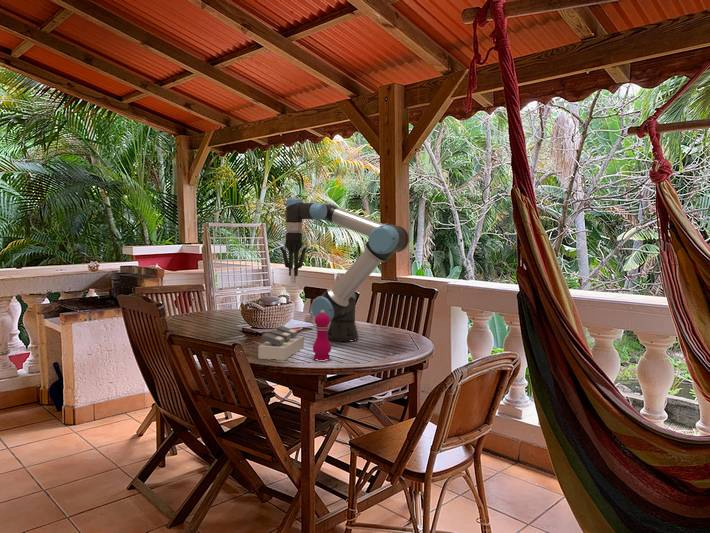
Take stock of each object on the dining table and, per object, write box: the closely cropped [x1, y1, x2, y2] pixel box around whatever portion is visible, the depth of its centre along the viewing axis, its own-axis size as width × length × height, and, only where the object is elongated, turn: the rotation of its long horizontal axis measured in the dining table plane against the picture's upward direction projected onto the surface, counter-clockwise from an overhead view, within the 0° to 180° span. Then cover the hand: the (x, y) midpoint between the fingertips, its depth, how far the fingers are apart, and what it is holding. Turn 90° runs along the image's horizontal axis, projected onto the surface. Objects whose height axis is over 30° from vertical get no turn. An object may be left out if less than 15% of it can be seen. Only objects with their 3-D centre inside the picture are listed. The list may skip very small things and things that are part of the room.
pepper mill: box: [312, 310, 332, 360], centre depth 216 cm, size 7×7×20 cm
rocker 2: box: [268, 329, 291, 341], centre depth 226 cm, size 8×5×2 cm, turn 77°
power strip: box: [257, 335, 305, 361], centre depth 229 cm, size 11×30×6 cm, turn 167°
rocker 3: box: [275, 325, 298, 338], centre depth 234 cm, size 8×5×2 cm, turn 77°
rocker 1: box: [260, 332, 285, 346], centre depth 218 cm, size 8×5×2 cm, turn 77°
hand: (293, 283), depth 252 cm, fingers closed
